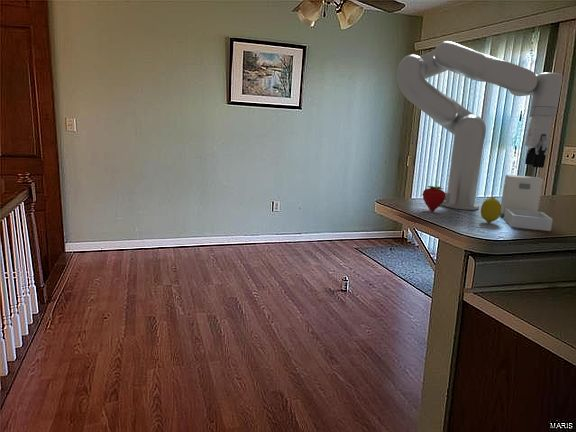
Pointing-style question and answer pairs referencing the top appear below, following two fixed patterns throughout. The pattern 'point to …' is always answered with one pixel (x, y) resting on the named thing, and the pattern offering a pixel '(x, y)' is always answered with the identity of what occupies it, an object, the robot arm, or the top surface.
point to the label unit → (521, 193)
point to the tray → (528, 219)
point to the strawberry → (433, 197)
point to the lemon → (491, 209)
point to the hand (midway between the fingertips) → (533, 165)
